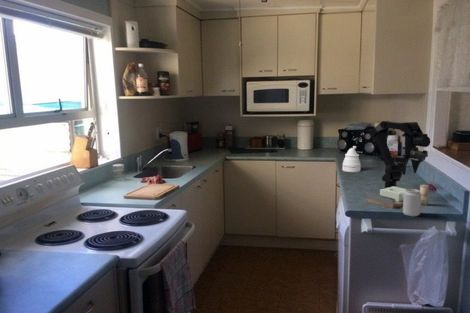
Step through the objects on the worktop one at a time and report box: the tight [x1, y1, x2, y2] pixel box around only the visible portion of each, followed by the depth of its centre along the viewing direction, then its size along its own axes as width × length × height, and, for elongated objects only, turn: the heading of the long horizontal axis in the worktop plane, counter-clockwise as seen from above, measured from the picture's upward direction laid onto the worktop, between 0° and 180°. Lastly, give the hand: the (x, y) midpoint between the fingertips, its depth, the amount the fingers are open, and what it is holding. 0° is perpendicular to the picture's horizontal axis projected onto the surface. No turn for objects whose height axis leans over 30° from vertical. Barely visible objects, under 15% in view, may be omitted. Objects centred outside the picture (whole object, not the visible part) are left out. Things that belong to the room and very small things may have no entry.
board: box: [365, 192, 403, 209], centre depth 199 cm, size 20×16×4 cm
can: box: [402, 188, 422, 218], centre depth 177 cm, size 8×8×12 cm
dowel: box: [419, 184, 430, 207], centre depth 192 cm, size 4×4×10 cm
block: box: [379, 186, 407, 202], centre depth 201 cm, size 12×12×4 cm
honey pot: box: [341, 145, 362, 173], centre depth 279 cm, size 13×13×18 cm
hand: (409, 173), depth 205 cm, fingers open, 9 cm apart
